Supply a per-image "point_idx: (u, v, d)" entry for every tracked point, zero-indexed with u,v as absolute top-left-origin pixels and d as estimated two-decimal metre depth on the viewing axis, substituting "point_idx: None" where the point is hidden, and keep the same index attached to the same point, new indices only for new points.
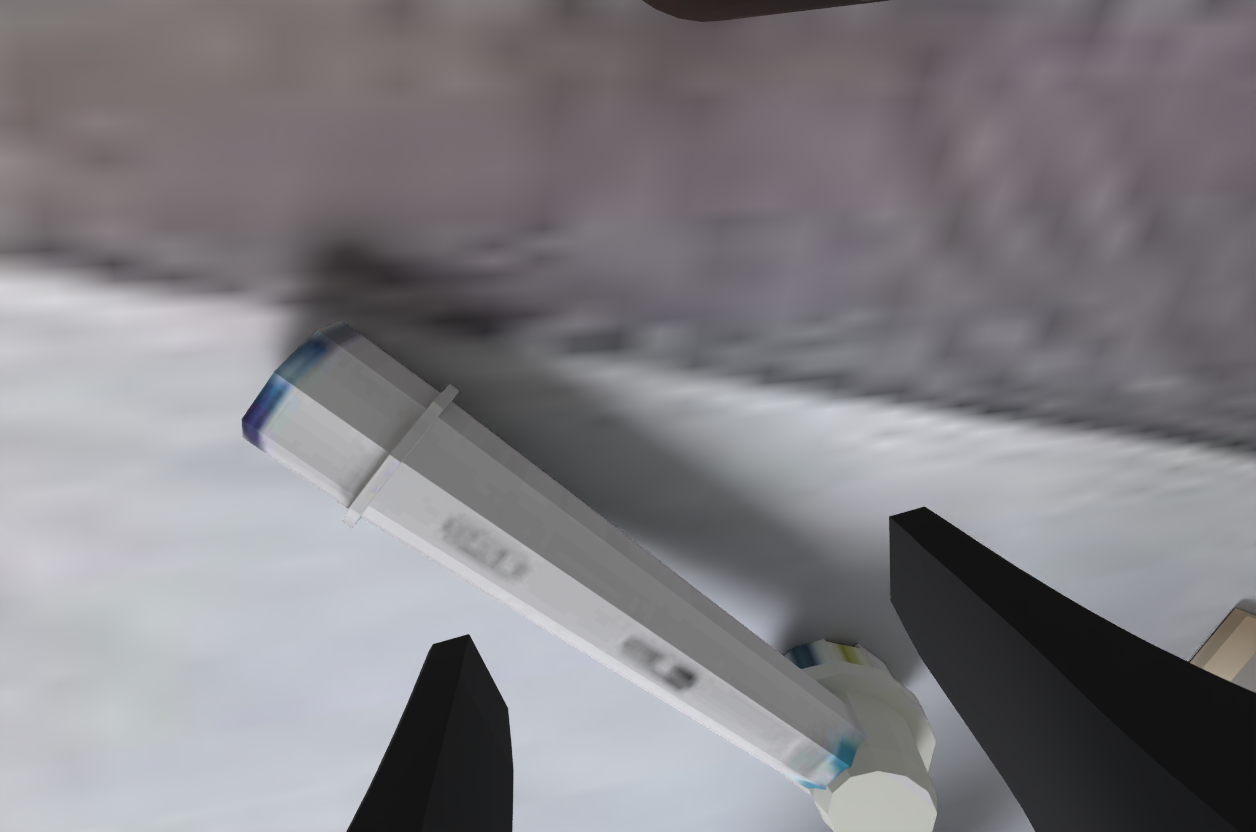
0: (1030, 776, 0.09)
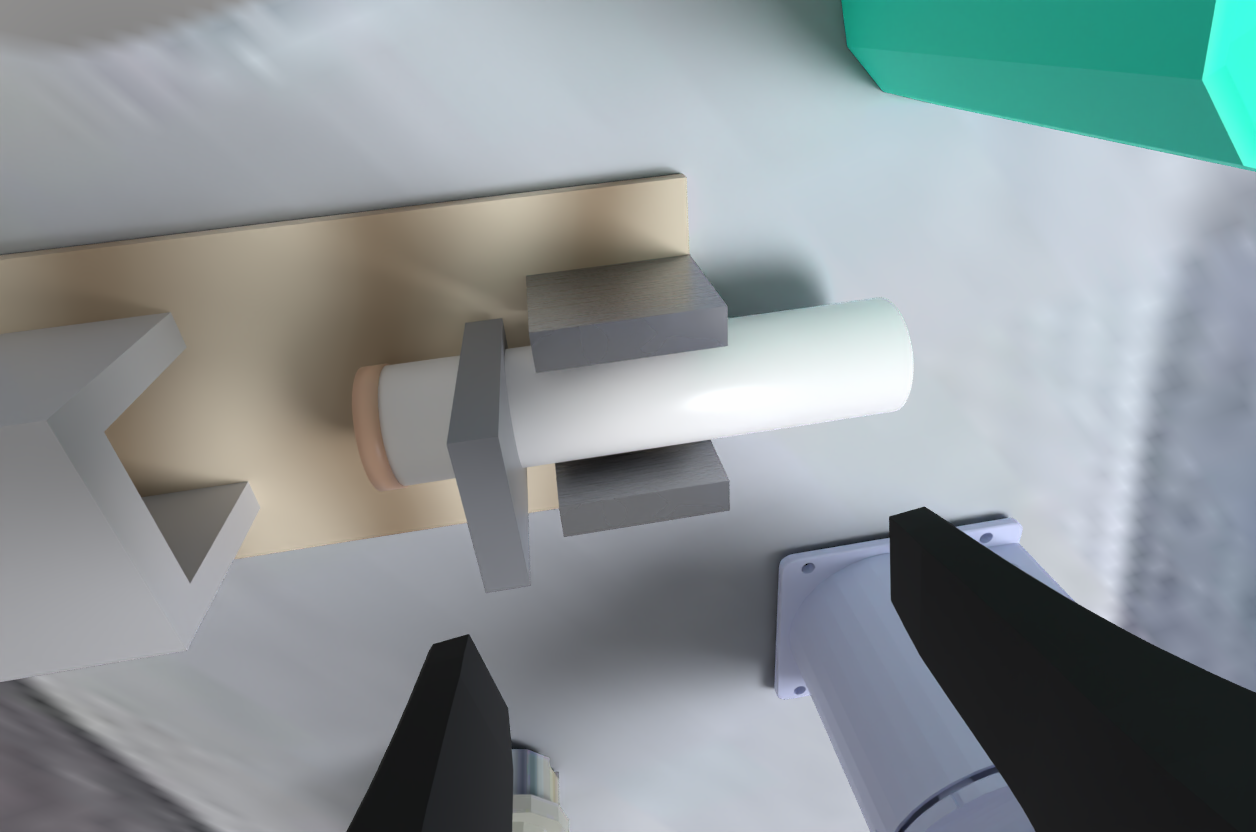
0: (1030, 776, 0.09)
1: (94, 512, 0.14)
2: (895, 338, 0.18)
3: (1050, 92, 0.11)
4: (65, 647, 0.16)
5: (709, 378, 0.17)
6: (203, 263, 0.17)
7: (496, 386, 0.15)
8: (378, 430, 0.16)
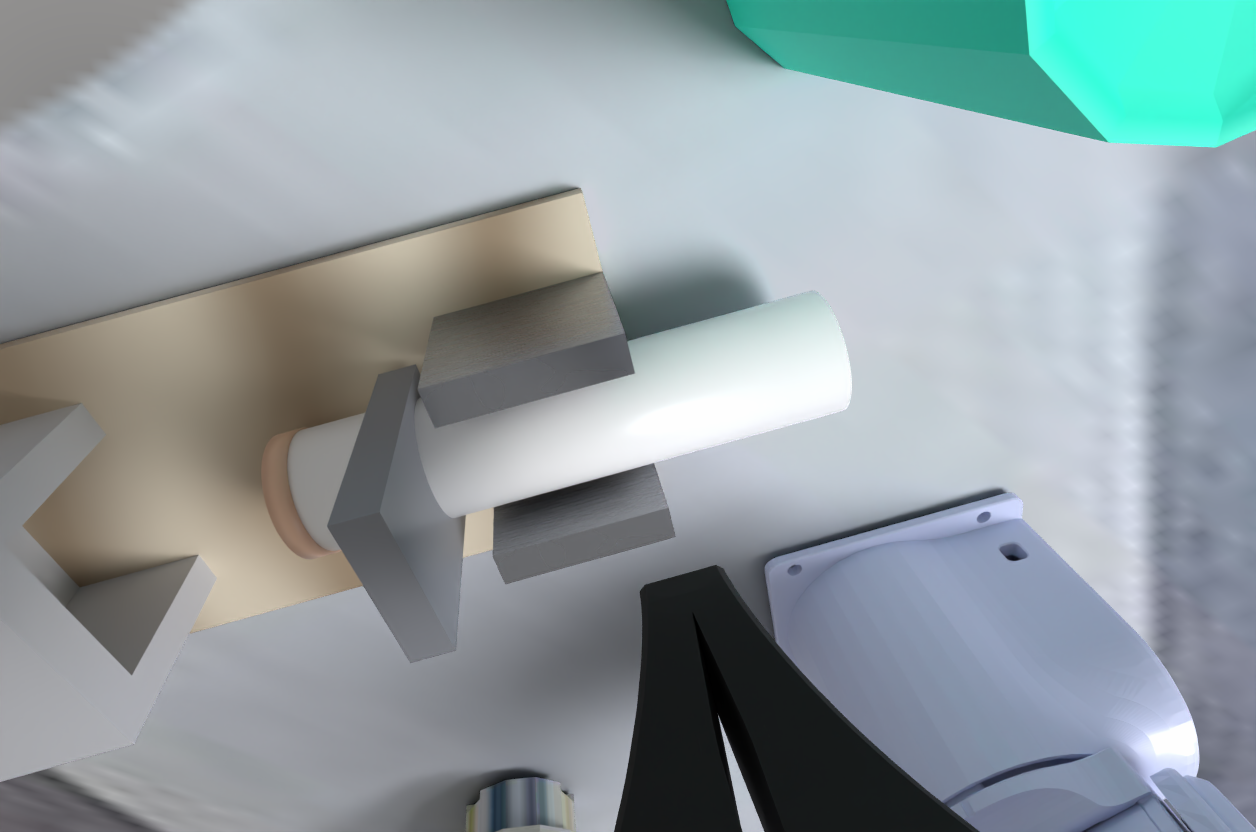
0: None
1: (2, 628, 0.14)
2: (826, 337, 0.16)
3: (910, 68, 0.10)
4: (13, 755, 0.16)
5: (628, 406, 0.16)
6: (102, 351, 0.17)
7: (391, 449, 0.14)
8: (291, 502, 0.16)
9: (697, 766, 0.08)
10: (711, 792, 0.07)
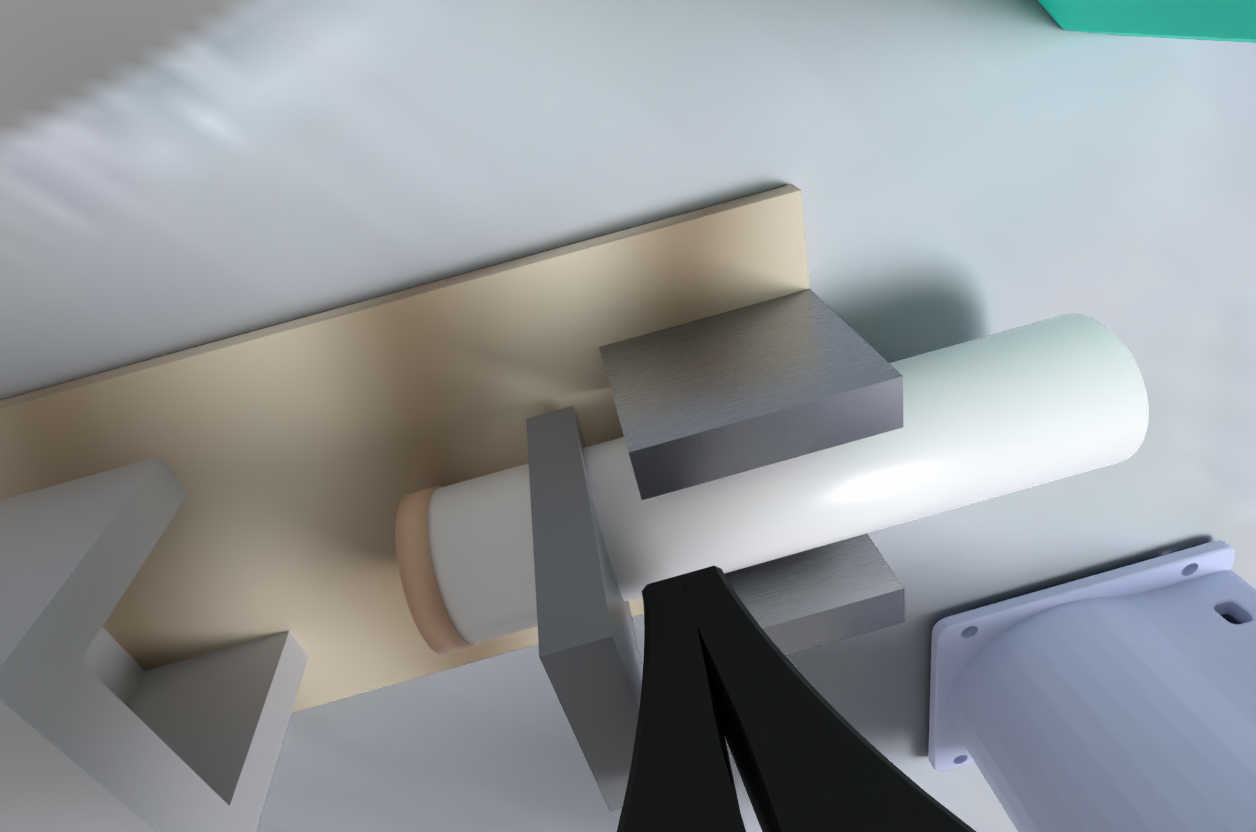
0: None
1: (80, 778, 0.10)
2: (1119, 375, 0.13)
3: None
4: None
5: (866, 465, 0.12)
6: (189, 392, 0.13)
7: (589, 533, 0.11)
8: (436, 591, 0.12)
9: (700, 765, 0.08)
10: (714, 791, 0.07)
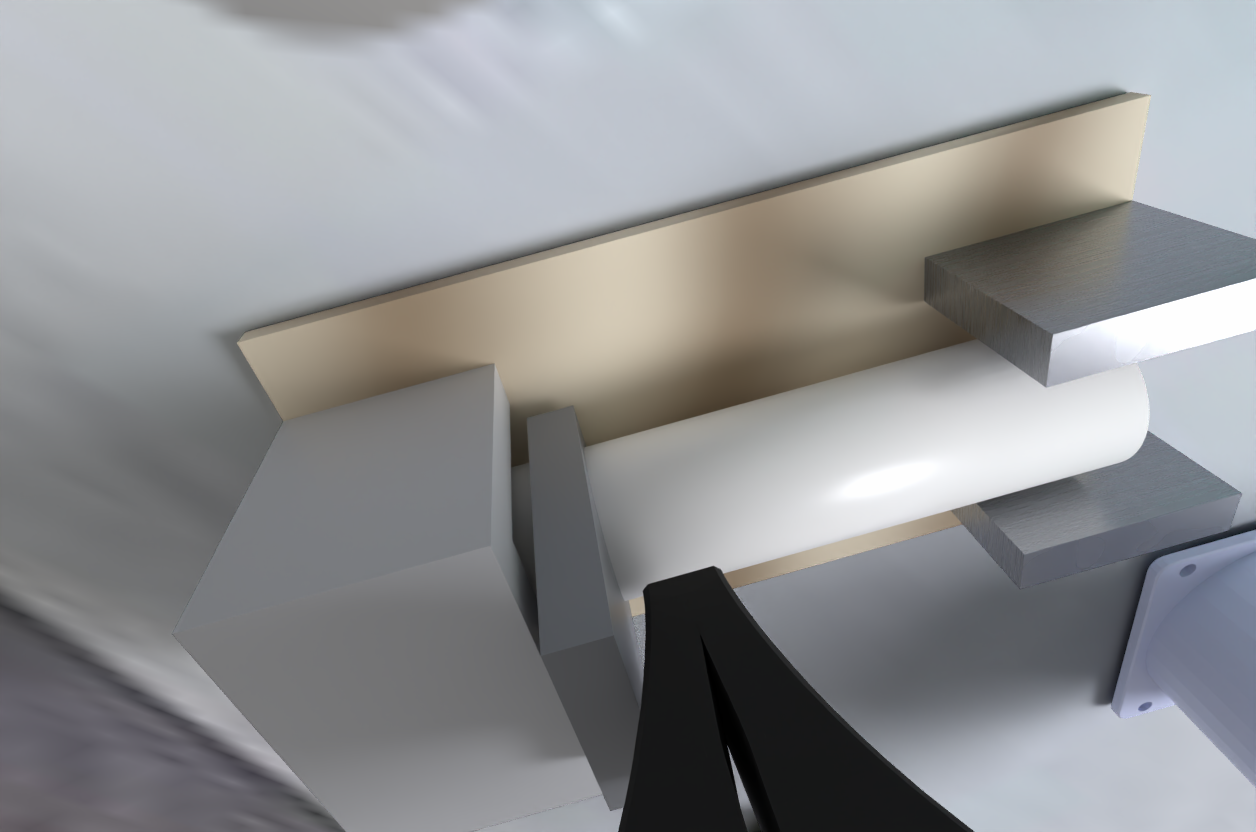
0: None
1: (527, 651, 0.10)
2: (1120, 375, 0.13)
3: None
4: (463, 809, 0.12)
5: (868, 464, 0.12)
6: (538, 296, 0.13)
7: (591, 532, 0.11)
8: None
9: (701, 765, 0.08)
10: (716, 791, 0.07)
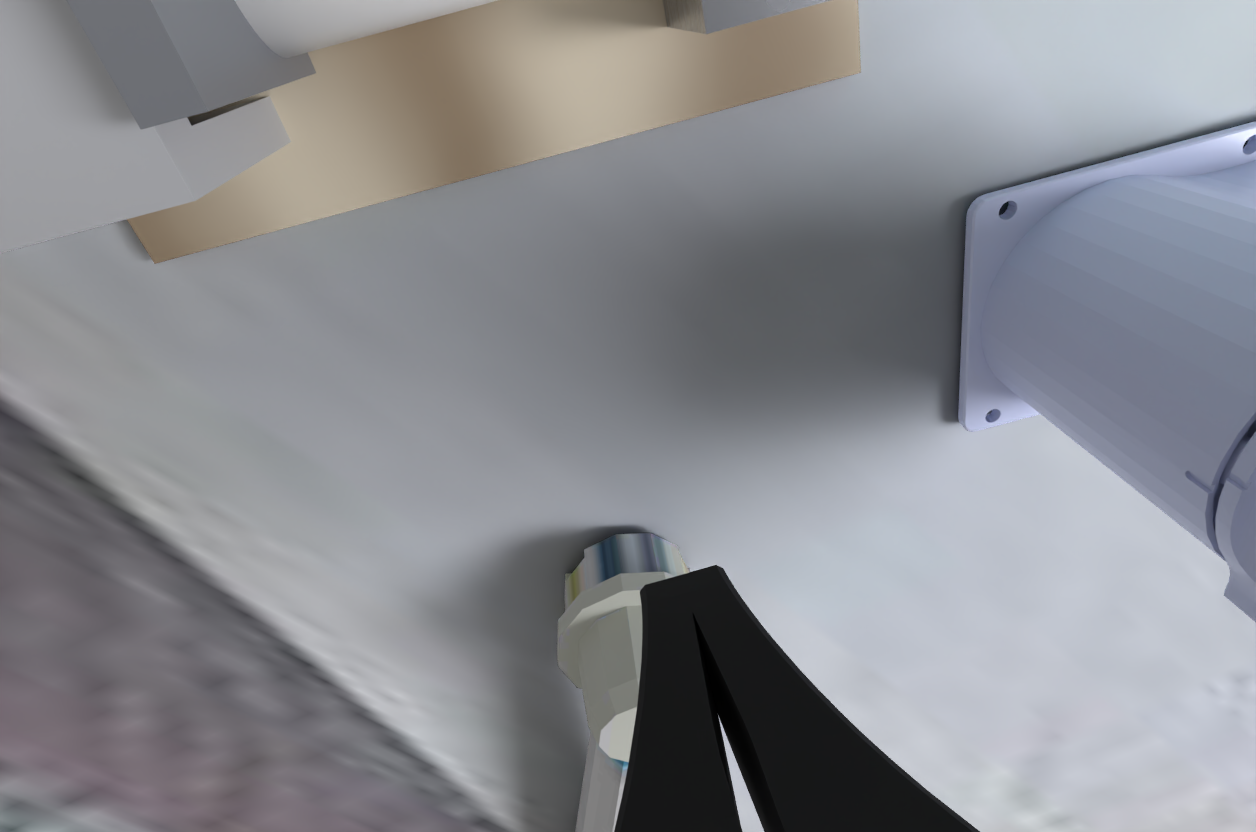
0: None
1: None
2: None
3: None
4: (26, 195, 0.11)
5: None
6: None
7: None
8: None
9: (696, 766, 0.08)
10: (711, 793, 0.07)
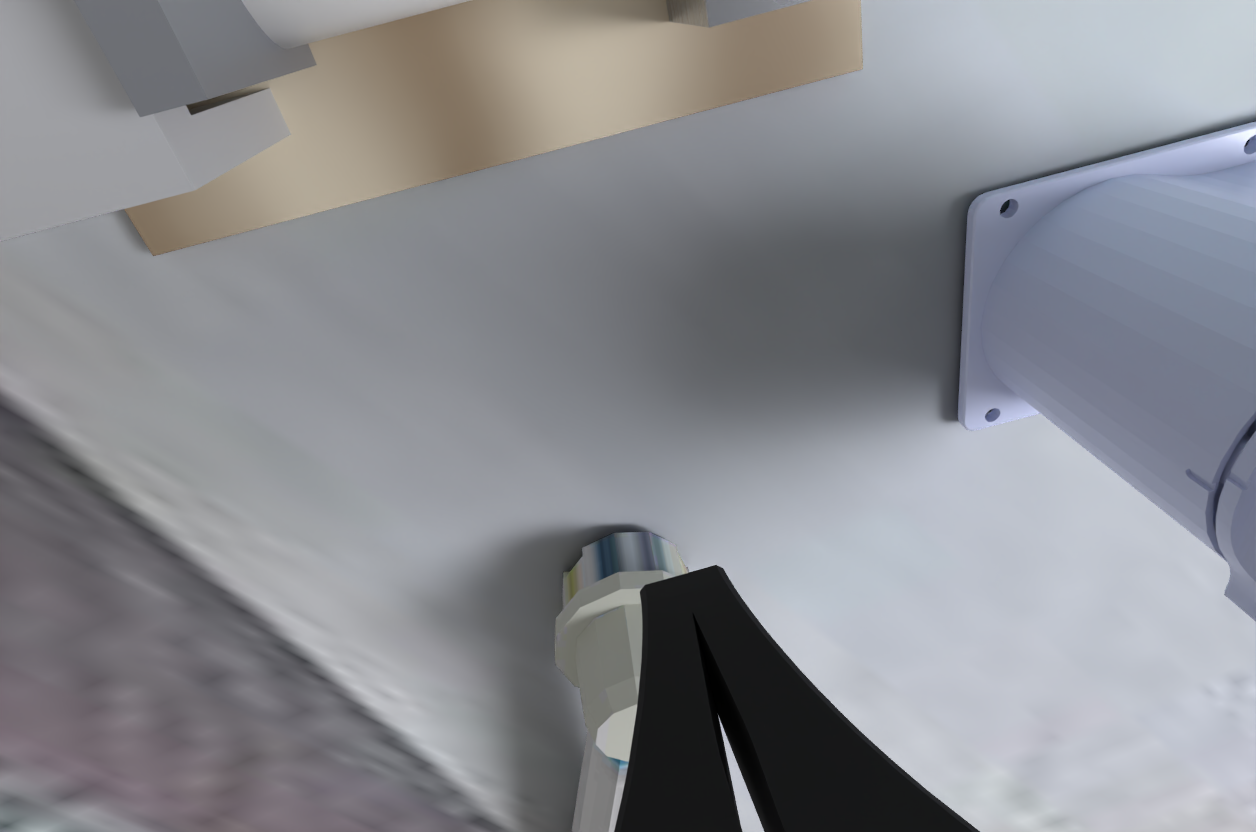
0: None
1: None
2: None
3: None
4: (24, 184, 0.11)
5: None
6: None
7: None
8: None
9: (697, 766, 0.08)
10: (711, 792, 0.07)
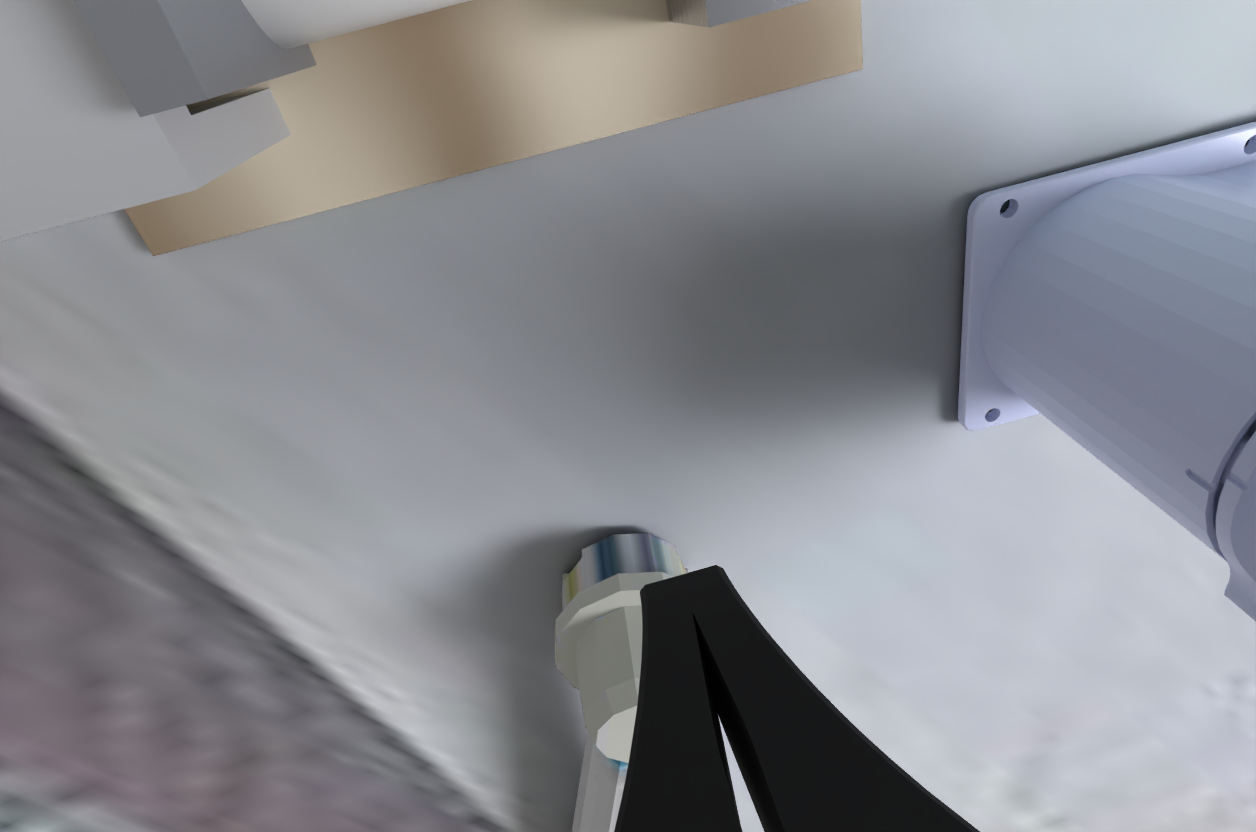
0: None
1: None
2: None
3: None
4: (24, 184, 0.11)
5: None
6: None
7: None
8: None
9: (697, 766, 0.08)
10: (711, 792, 0.07)
